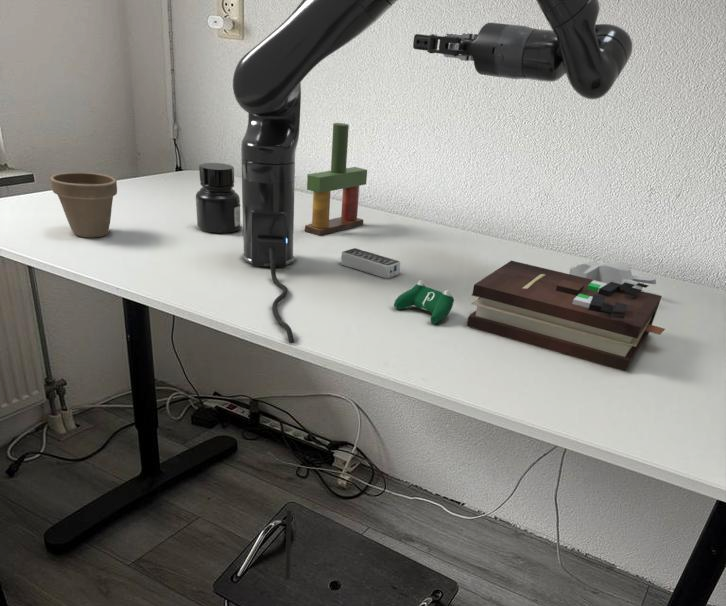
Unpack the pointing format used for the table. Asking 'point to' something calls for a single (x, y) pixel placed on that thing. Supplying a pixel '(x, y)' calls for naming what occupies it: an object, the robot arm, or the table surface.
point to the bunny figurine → (610, 273)
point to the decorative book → (566, 313)
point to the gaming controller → (426, 301)
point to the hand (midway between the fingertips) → (427, 42)
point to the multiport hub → (370, 263)
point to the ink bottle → (217, 199)
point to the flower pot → (86, 201)
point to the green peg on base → (337, 166)
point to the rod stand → (326, 226)
